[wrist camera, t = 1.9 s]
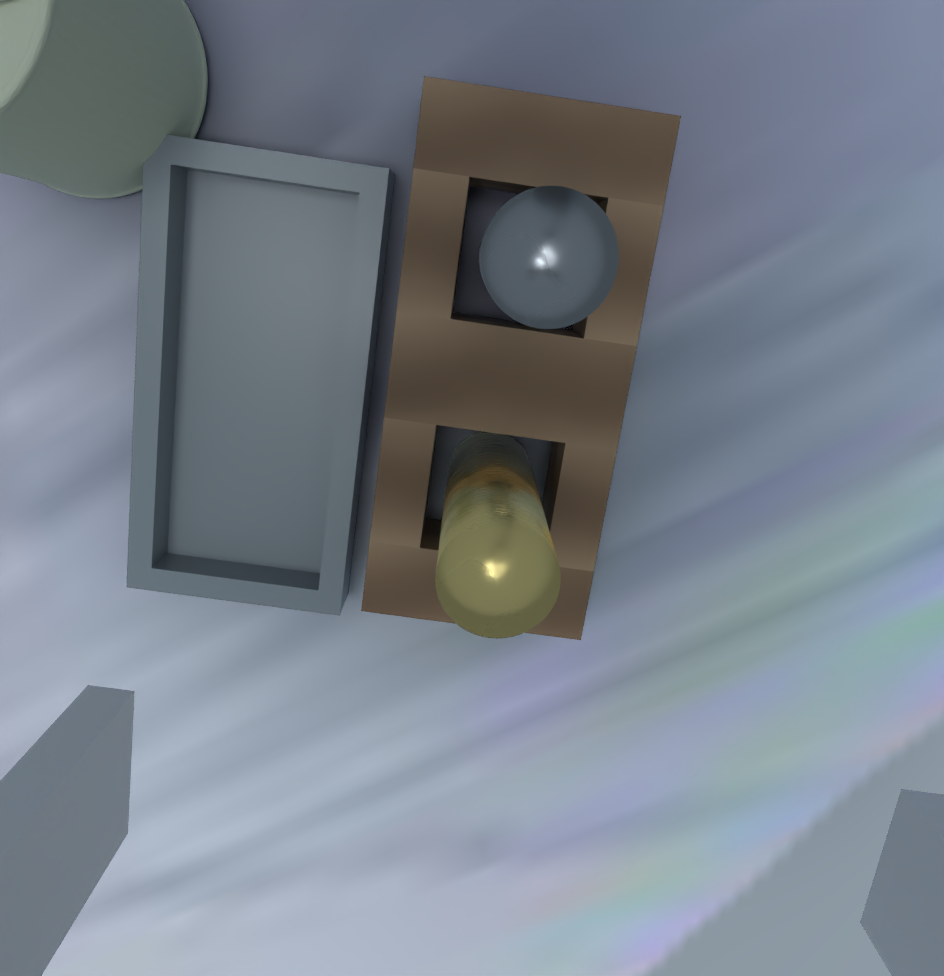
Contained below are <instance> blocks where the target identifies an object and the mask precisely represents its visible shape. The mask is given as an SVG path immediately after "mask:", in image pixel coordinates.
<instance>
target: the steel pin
mask: <svg viewBox="0 0 944 976" xmlns="http://www.w3.org/2000/svg"><path fill="white" fill-rule="evenodd" d="M618 263H619V248H618V241H617V237H616V234H615V231H614V228H613V226H612V223H611V222H610V220H609V218H608V217H607V215H606V214H605V212H604V211H603V210H602V208H601V207H600V206H599V205H598V204H597V203H596V202H595V201H593V200H592V199H590V198H589V197H588V196H586V195H584V194H583V193H581V192H579V191H576V190H574V189H571V188H567V187H562V186H540V187H535V188H532V189H529V190H526V191H524V192H522V193H520V194H518V195H516V196H514V197H513V198H511V199H510V200H509V201H507V202H506V203H505V204H504V205H503V206H502V207H501V208H500V209H499V210H498V211H497V213H496V214H495V215H494V217H493V218H492V220H491V221H490V223H489V225H488V227H487V229H486V232H485V234H484V236H483V239H482V241H481V244H480V247H479V252H478V267H479V272H480V275H481V278H482V280H483V282H484V284H485V286H486V288H487V291H488V293H489V294H490V296H491V298H492V299H493V301H494V302H495V303H496V305H497V306H498V307H499V308H500V309H501V310H502V311H503V312H504V313H505V314H506V315H508V316H509V317H511V318H512V319H514V320H515V321H517V322H519V323H521V324H524V325H527V326H530V327H534V328H539V329H557V328H562V327H566V326H569V325H572V324H575V323H577V322H579V321H581V320H583V319H584V318H586V317H587V316H589V315H590V314H591V313H592V312H594V311H595V310H596V309H597V308H598V307H599V306H600V305H601V304H602V302H603V301H604V300H605V298H606V297H607V295H608V294H609V292H610V290H611V288H612V286H613V283H614V281H615V278H616V274H617V270H618Z"/></svg>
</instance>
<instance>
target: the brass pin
mask: <svg viewBox="0 0 944 976" xmlns="http://www.w3.org/2000/svg"><path fill="white" fill-rule="evenodd" d="M435 583H436V591H437V595H438V598H439V601H440V603H441V605H442V607H443V609H444V610H445V612H446V613H447V615H448V616H449V617H450V618H451V619H452V620H453V621H454V622H455V623H456V624H458V625H459V626H460V627H462V628H463V629H465V630H467V631H469V632H471V633H473V634H476V635H479V636H483V637H488V638H507V637H513V636H516V635H519V634H522V633H524V632H527V631H529V630H530V629H532V628H534V627H535V626H536V625H538V624H539V623H540V622H541V621H542V620H543V619H544V618H545V617H546V616H547V615H548V614H549V612H550V611H551V610H552V608H553V606H554V604H555V602H556V600H557V597H558V594H559V590H560V583H561V575H560V568H559V564H558V560H557V557H556V553H555V549H554V546H553V542H552V539H551V535H550V532H549V528H548V525H547V521H546V517H545V514H544V510H543V507H542V503H541V500H540V496H539V493H538V489H537V486H536V482H535V478H534V475H533V471H532V468H531V464H530V461H529V458H528V455H527V453H526V451H525V450H524V448H523V447H522V446H521V444H520V443H519V442H517V441H516V440H515V439H514V438H512V437H511V436H509V435H505V434H498V433H490V432H479V433H475V434H473V435H471V436H469V437H467V438H466V439H464V440H463V441H462V442H461V443H460V444H459V445H458V446H457V447H456V449H455V450H454V452H453V454H452V456H451V458H450V461H449V466H448V475H447V483H446V491H445V500H444V508H443V516H442V525H441V533H440V541H439V550H438V558H437V566H436V576H435Z"/></svg>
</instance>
